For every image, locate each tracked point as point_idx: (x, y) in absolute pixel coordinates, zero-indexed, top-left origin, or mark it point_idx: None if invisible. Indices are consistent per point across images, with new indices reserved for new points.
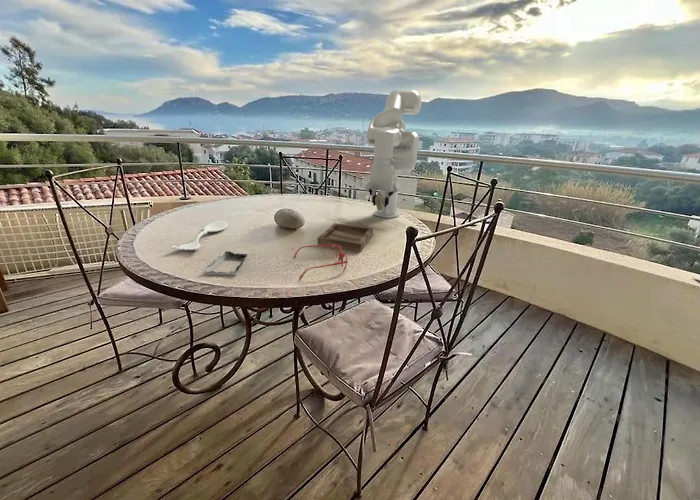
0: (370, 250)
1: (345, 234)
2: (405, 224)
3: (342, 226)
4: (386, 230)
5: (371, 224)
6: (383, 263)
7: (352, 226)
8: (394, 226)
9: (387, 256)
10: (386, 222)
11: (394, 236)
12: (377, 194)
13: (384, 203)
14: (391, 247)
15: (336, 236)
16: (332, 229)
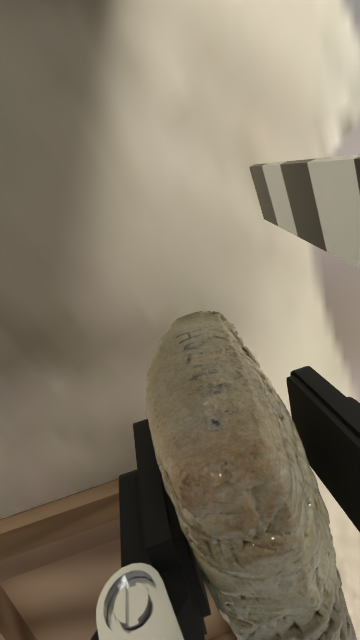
0: None
1: (93, 577)
2: (311, 90)
3: (19, 568)
4: (235, 324)
5: (79, 274)
6: (354, 620)
7: (85, 546)
8: (251, 204)
9: (351, 578)
10: (154, 138)
11: None
12: (248, 632)
13: (322, 480)
14: (341, 508)
15: (74, 622)
16: (9, 632)
